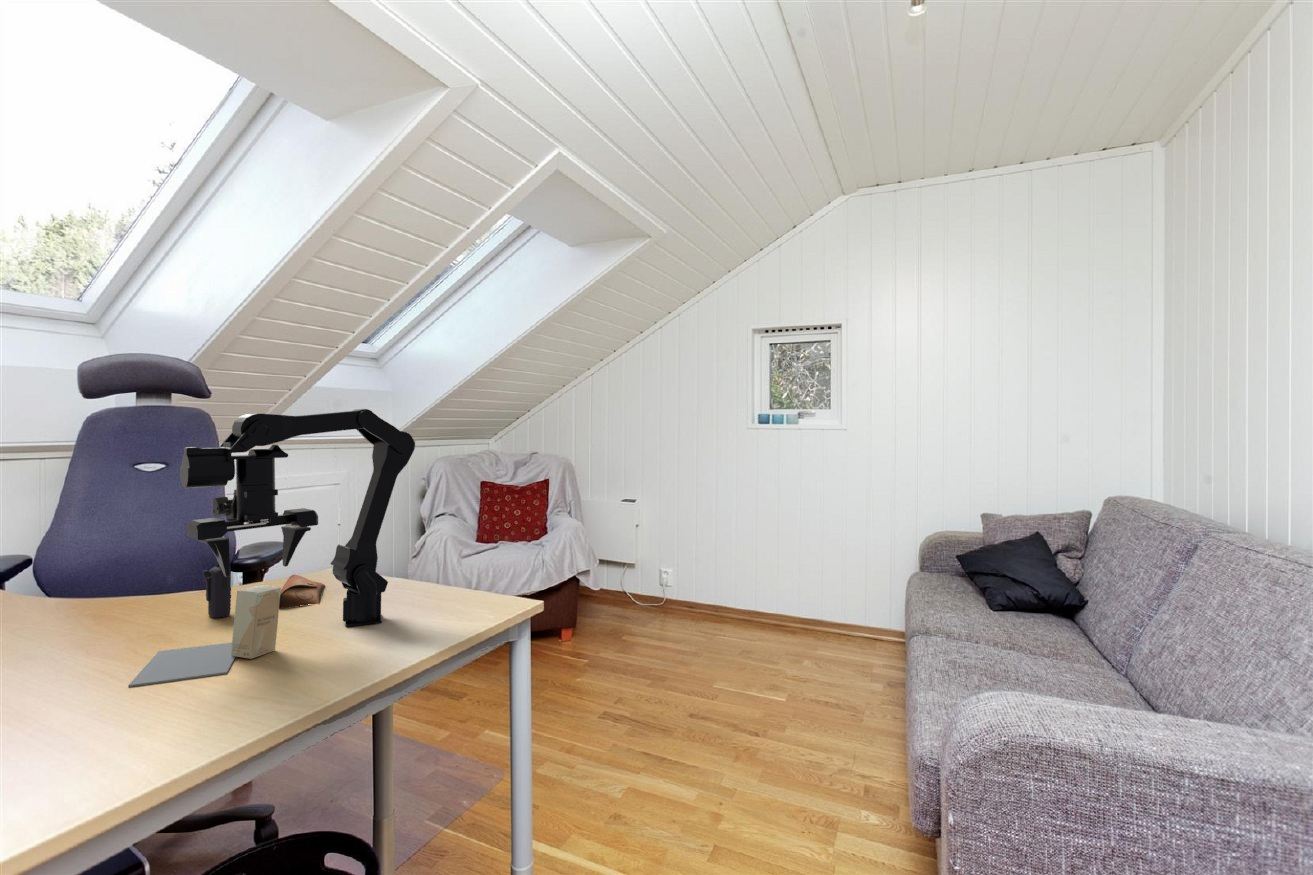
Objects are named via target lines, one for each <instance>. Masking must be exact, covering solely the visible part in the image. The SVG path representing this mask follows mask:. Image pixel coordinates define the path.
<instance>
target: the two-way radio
mask: <svg viewBox="0 0 1313 875" xmlns="http://www.w3.org/2000/svg"><path fill="white" fill-rule="evenodd" d="M202 576H203V578H204V581H205V592H206V593H205V600H206V601H207V602H208V603H207V604H208V605H207V609H208V610H207V612H208V613H207V614H208V616H209V617H210V618H216V619H220V618H226V617H229V616H230V614H231V609H232V608H231V605H232V604H231V601H232V600H231V598H232V586H231V585H232V570H231V568H230V573H229V577H225V576H224V574H223V572H222V570H221V567H220V565H219V563H218V561H217V560H216V564H215V566H213V567H212V568H210V569H209V570H207V569H205V570H202Z"/></svg>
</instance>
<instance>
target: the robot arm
mask: <svg viewBox="0 0 1313 875" xmlns="http://www.w3.org/2000/svg"><path fill="white" fill-rule="evenodd" d="M231 428H232V429H231V431H232V432H231V433H230V434H229V435H228V436H227V438H225V439H224V441H223V442H222V443H221V444H220V445H219V446H218V447H195V446H190V447H189V446H187V447H184V448H183V456H182V459H181V465H180V466H179V476H180V482H181V483H180V484H181V486H182V488H183V489H195V488H197V489H198V488H210V487H211V488H213V487H215V488H216V487H226V486H227V485H228V482H230V481H232V480H234V478H235V477H236V478H235V481H236V485H235V487H236V489H233V498H232V499H229V497H228V496H219V497H214V498H213V499H212V512H213V513H212V514H213V517H208V518H200V519H191V520H190V522H188V524H187V526H186V530H187V531H186V533H187V534H186V535H187V538H190V539H193V540H197V542H200V543H203V544H206V545H207V546H209V548H210V551H211V552H212V553H213V554H214V557H215V558H216V562H217V561H218V563H219V565H220V567H221V570H222V572H223V574H224V576H225V577H229V573H230V569H231V558H230V557H231V555H230V539H229V538H228V537H225V536H226V534H227V533H228V532H235V531H236V532H237V531H243V530H252V529H259V528H268V527H269V528H270V527H277V526H281V527H280V528H281V532H282V535H283V536H282V537H283V540H282V554H281V555H282V558H281V559H282V565H283V567H289V564H290V562H291V560H292V558H293V556H294V553H295V551H296V549H297V547H298V545H299V544H300V541H302V538H303V537H304V536H305V534H306V532H310V531H311V530H312V528H311V527H313V526H318V525H319V515H318V513H317V511H315V510H314V509H310V508H305V507H304V508H303V507H301V508H294V509H293V508H292V509H284V511H283V513H282V514H279V512H277V511H276V496H278V495H279V490H278V489H276V463H275V462H276V461H275V460H276V459H281V458H284V459H285V458H288V457H289V453H287V452H286V451H284V450H283V449H282V448H281V447H280V446H279V445H278V444H276V443H280V442H282V441H283V442H284V441H286V440H289V439H291V438H295V437H298V436H304V435H314V434H322V433H324V434H325V433H333V432H340V431H350V430H356V431H357V432H358V433H359V434H360V435H361V436H362V438H364V439H365V440H366V441H367V443H368V442H369V443H370V444H371V445H373V447H372V454H371V457H372V458H371V459H372V466H373V471H372V474H371V476H370V477H371V478H370V481H369V484H368V487H367V490H366V493H365V496H364V499H363V501H362V504H361V508H360V512H359V514H358V517H357V520H356V524H355V526H354V530H353V533H352V535H351V538H350V539H349V540H348V541H347V543H346V544H345V545H341V544H337V546H336V549H335V555H334V558H333V559H332V560H331V562H330V565H331V566H332V575H333V576H334V577H335V579H336V580H337V581H338V582H340V583H341V585H342V587H343V589H345V590H346V597H343V599H342V600H343V601H342V621H343V622H345V626H344V627H355V626H356V627H357V626H365V625H373V624H380V623H382V622H383V619H382V618H383V617H382V593H385V592H386V589H387V587H388V584H389V582H388V580H387V579H385V577H383V576H382V575H380V574H379V573H378V572H377V565H378V560H379V559H378V549H377V548H378V547H377V541H378V538H379V535H380V532H381V528H382V525H383V522H384V520H385V516H386V513H387V510H388V507H389V503H390V500H391V497H392V494H393V491H394V487H395V484H396V481H397V478H398V475H399V474H401V472H402V471H403V469H404V468H405V467H406V466H407V465H408V463H409V461H410V459H411V458H412V455H413V453H414V451H415V448H416V441H415V440H414V438H413V436H412V435H411V434H410V433H408V432H406V431H402V430H399V429H398V428H397V427H396V426H394V425H392V424H391V423H390V422H388V421H386V420H384V419H383V418H381V417H380V416H378V415H377V414H375V413H374V412H373V411H372V410H370V409H369V408H357V409H356V408H355V409H353V410H347V411H336V412H327V413H315V414H314V413H313V414H304V415H301V414H300V415H287V414H286V415H285V414H273V413H247V414H241V415H240V416H238V417H237V418H236V419H235V420H234V422H233V425H232V427H231ZM269 445H270V447H268V448H255V447H266V446H269ZM253 448H255V449H253ZM247 452H248V453H247ZM232 453H233V454H235V453H247V454H243V455H232ZM235 475H236V476H235ZM219 517H225V519H222V518H219Z"/></svg>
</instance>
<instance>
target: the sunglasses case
mask: <svg viewBox="0 0 1313 875" xmlns="http://www.w3.org/2000/svg"><path fill="white" fill-rule="evenodd" d="M324 586H325V587H326V585H325V584H324V583H322V582H318V581H312V580H310V579H308V578H306V577H303V576H301V575H297V574H292V575H290V576H289V577H288V579H287V580H286V582H284V585H283V586H282V587H281V592H280V603H279V609H289V607H290V608H296V607H295V606H299V607H301V606H300V605H308V604H318V605H320V603H321V602H320V596H321V593H322V590H323V589H324V588H325V587H324ZM323 587H324V588H323Z"/></svg>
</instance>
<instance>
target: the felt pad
mask: <svg viewBox="0 0 1313 875" xmlns="http://www.w3.org/2000/svg"><path fill="white" fill-rule="evenodd" d="M231 649H232V641H231V642H225V643H215V644H208V645H199V646H191V647H182V648H176V649H175V648H174V649H165V650H158V651H157V652H156V654H155V655H154V656H153V657H152V658H151V660H149V661H148V663H147V664H146V665H145V666H144V667H143V668H142V669H141V670H140V671H139V672H138V674H137V675H136V676H135V677H133V679H132V681H130V683H129V684H128V685H127V686H128V688H132V687H133V688H134V687H139V686H141V687H142V686H149V685H154V684H162V683H170V682H177V681H183V680H191V679H198V678H205V677H212V676H219V675H227V674H228V673H229V670H230V669H231V667H232V665H233V663H234V661H235V659H236V658H237V656H231Z"/></svg>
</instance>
